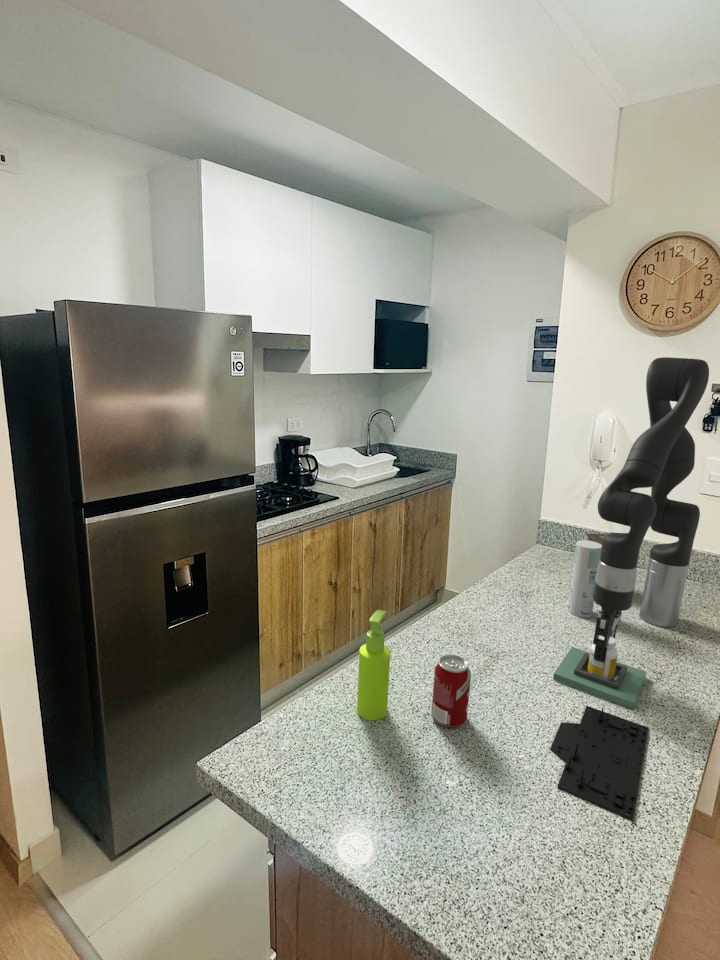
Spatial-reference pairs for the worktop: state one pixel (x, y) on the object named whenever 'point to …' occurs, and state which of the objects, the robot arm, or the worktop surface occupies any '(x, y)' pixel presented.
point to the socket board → (601, 679)
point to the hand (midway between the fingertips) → (604, 651)
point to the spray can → (584, 578)
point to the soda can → (451, 691)
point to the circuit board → (602, 760)
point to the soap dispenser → (373, 672)
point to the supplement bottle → (606, 667)
